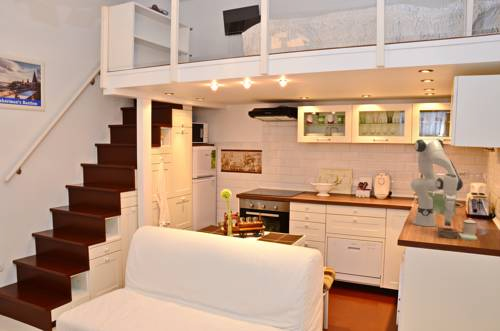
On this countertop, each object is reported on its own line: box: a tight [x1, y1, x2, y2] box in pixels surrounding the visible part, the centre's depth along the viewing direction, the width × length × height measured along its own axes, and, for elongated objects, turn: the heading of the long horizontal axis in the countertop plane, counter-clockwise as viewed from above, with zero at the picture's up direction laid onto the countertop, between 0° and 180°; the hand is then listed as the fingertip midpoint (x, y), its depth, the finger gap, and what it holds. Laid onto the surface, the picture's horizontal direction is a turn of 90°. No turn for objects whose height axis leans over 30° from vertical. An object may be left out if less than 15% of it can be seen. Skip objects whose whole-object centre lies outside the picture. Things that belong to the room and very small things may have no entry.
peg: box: [444, 210, 453, 227], centre depth 282 cm, size 4×4×11 cm
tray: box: [458, 232, 478, 242], centre depth 278 cm, size 12×10×2 cm
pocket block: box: [437, 226, 459, 240], centre depth 282 cm, size 12×12×5 cm
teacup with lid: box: [458, 217, 477, 236], centre depth 293 cm, size 12×9×12 cm
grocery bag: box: [427, 190, 457, 216], centre depth 375 cm, size 32×14×23 cm, turn 72°
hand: (448, 214), depth 282 cm, fingers closed on peg, 4 cm apart
